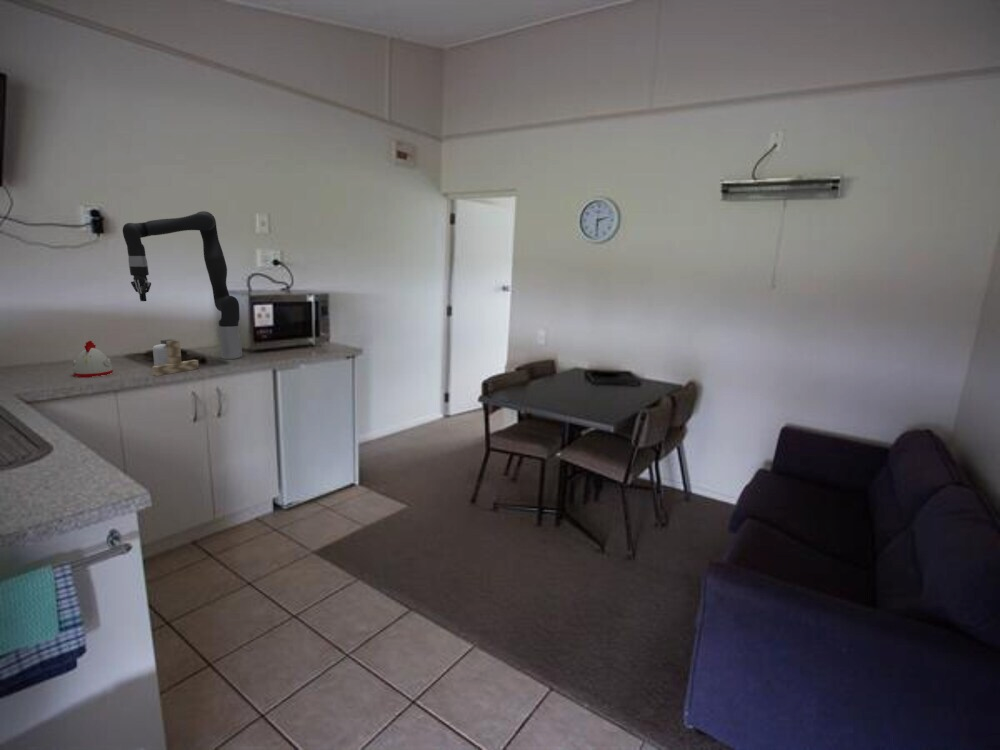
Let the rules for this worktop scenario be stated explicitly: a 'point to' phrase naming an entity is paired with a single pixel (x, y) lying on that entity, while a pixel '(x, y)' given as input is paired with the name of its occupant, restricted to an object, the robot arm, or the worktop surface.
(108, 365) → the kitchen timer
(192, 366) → the retention stand
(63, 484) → the worktop surface
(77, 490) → the worktop surface
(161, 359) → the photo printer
